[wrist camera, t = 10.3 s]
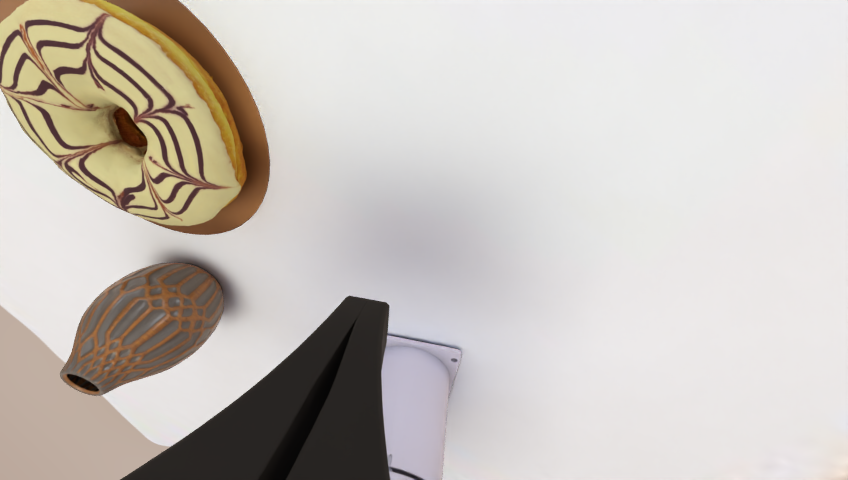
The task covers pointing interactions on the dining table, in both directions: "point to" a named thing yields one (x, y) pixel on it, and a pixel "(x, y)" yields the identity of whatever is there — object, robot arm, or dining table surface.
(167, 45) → the decorated donut
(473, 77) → the dining table surface
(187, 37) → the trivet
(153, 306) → the vase
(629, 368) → the dining table surface
